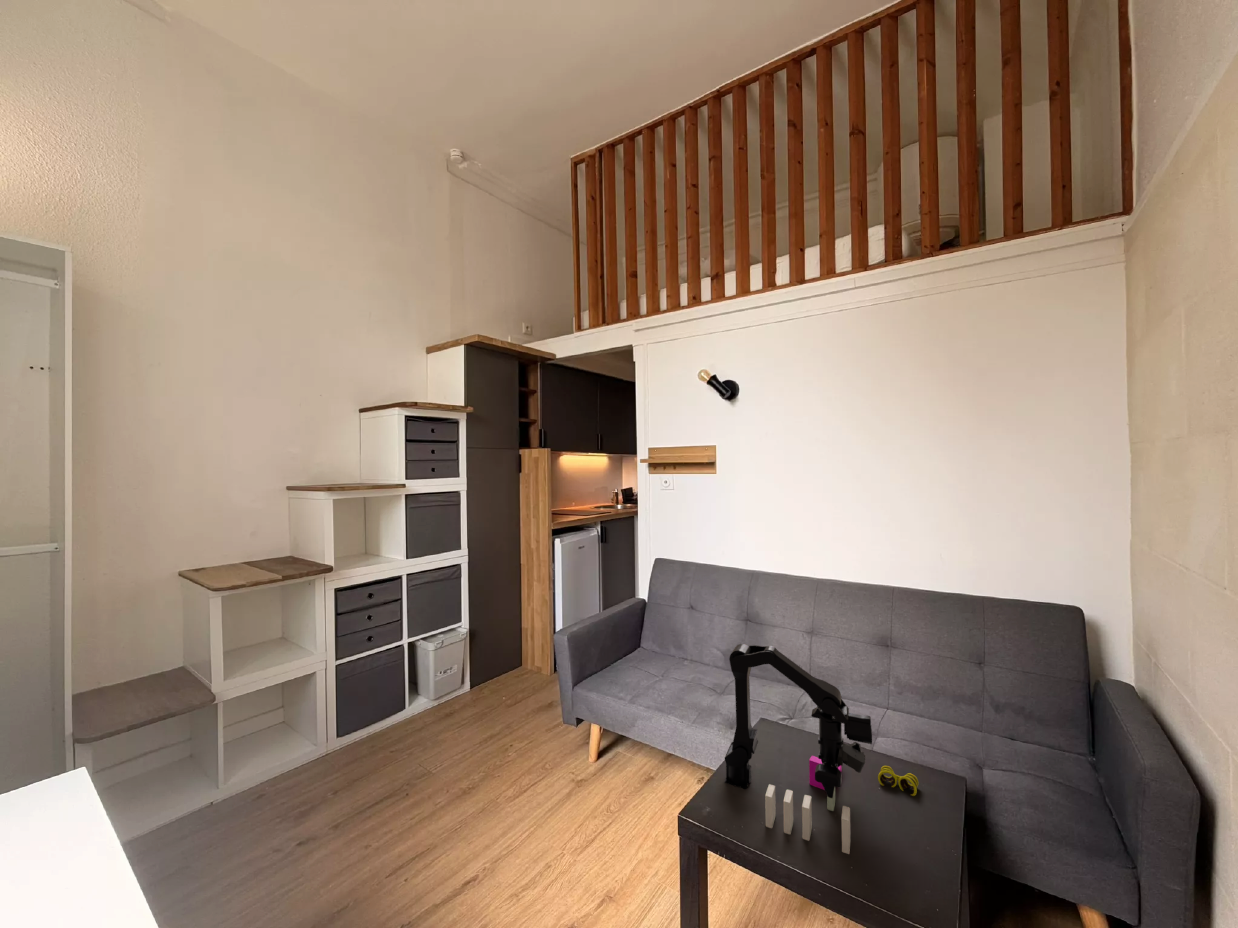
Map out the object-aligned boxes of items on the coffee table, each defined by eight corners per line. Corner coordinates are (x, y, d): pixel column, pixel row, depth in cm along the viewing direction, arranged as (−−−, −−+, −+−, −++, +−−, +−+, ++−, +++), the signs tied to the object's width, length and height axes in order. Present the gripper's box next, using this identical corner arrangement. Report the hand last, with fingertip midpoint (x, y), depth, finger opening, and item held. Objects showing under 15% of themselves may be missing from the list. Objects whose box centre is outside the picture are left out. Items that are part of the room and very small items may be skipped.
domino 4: (841, 851, 117) (841, 818, 117) (843, 837, 122) (842, 805, 122) (849, 853, 116) (848, 820, 116) (850, 839, 121) (849, 807, 121)
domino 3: (802, 838, 121) (801, 806, 122) (804, 825, 126) (804, 794, 126) (809, 840, 121) (808, 808, 121) (811, 827, 125) (811, 796, 125)
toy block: (832, 794, 138) (831, 767, 138) (809, 785, 142) (809, 759, 142) (845, 768, 150) (845, 743, 150) (824, 760, 154) (823, 736, 154)
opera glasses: (919, 790, 139) (918, 772, 139) (916, 800, 135) (916, 782, 135) (881, 777, 145) (880, 760, 145) (877, 786, 141) (877, 769, 141)
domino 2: (783, 832, 124) (783, 800, 124) (786, 819, 128) (786, 789, 128) (790, 834, 123) (789, 802, 123) (793, 821, 127) (793, 790, 127)
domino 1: (765, 826, 126) (764, 795, 126) (769, 813, 130) (768, 783, 130) (772, 828, 125) (771, 797, 125) (775, 815, 129) (775, 785, 129)
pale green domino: (827, 809, 132) (826, 779, 132) (828, 797, 136) (828, 769, 136) (833, 811, 131) (833, 781, 131) (835, 799, 135) (834, 770, 135)
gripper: (861, 760, 122) (862, 823, 121) (864, 725, 138) (864, 780, 138) (814, 749, 127) (815, 809, 127) (821, 716, 143) (822, 769, 143)
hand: (831, 791), depth 133 cm, fingers closed on pale green domino, 5 cm apart
